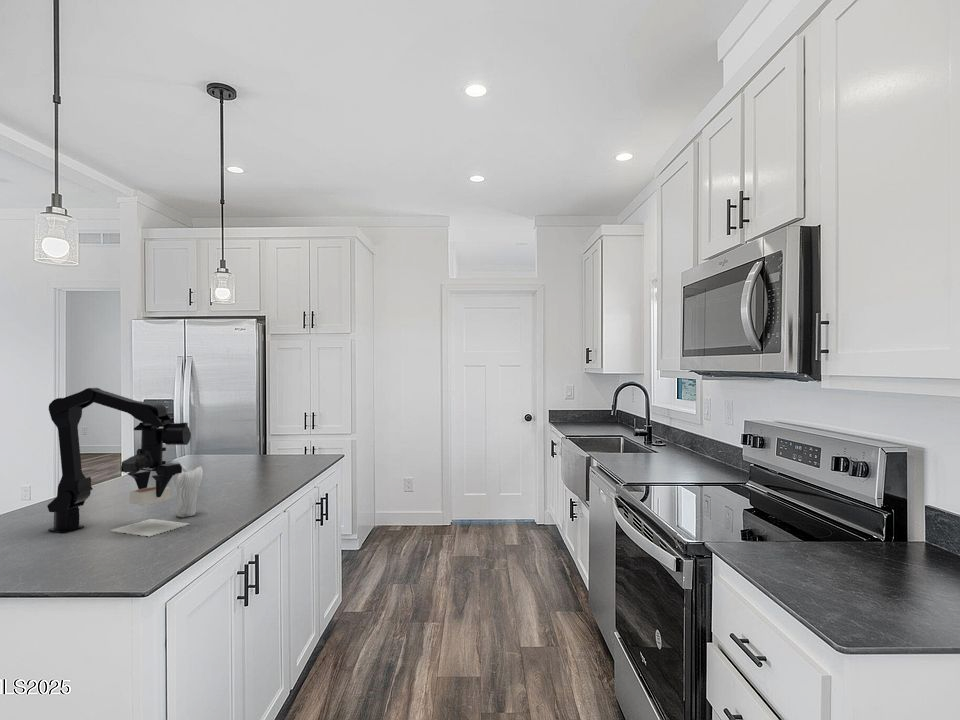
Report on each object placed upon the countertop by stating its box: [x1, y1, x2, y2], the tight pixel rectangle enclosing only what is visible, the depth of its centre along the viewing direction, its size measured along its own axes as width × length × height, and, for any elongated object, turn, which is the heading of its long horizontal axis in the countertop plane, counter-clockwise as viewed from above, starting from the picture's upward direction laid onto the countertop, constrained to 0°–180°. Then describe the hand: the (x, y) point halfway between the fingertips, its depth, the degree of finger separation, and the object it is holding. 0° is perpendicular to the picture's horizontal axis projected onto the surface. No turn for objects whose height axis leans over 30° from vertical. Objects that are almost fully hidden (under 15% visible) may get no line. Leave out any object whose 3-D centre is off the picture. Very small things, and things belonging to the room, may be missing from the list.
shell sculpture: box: [172, 460, 204, 518], centre depth 185 cm, size 8×8×18 cm
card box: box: [128, 485, 172, 506], centre depth 170 cm, size 9×6×4 cm, turn 157°
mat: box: [109, 518, 190, 538], centre depth 170 cm, size 16×14×1 cm
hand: (150, 496), depth 170 cm, fingers closed on card box, 6 cm apart
